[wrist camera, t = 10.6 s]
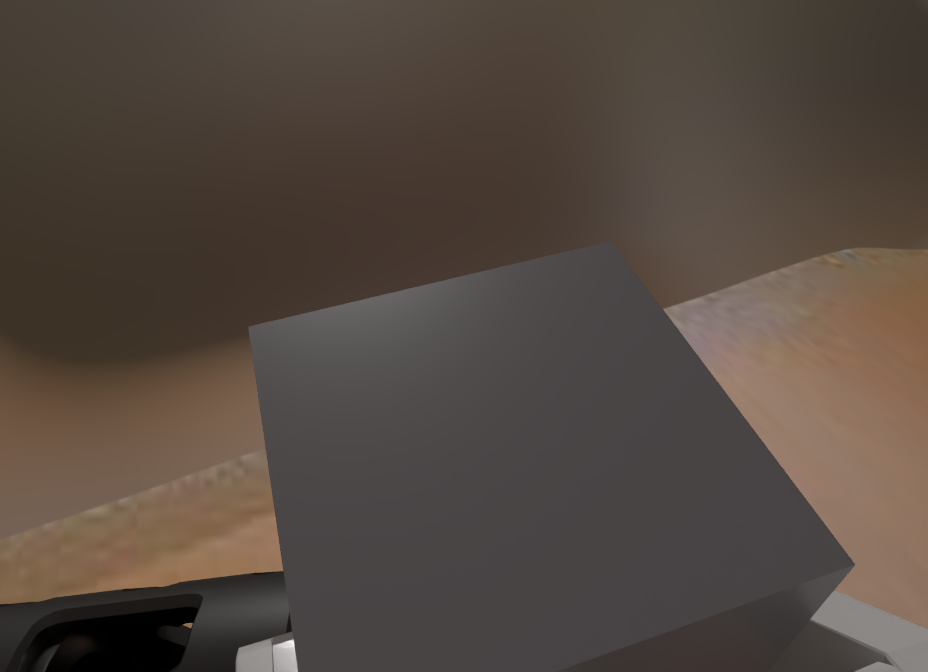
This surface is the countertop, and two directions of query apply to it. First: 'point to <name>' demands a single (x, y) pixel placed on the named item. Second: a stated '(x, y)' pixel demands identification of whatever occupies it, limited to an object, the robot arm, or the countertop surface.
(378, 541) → the charger
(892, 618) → the robot arm
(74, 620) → the muzzle brake
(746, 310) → the countertop surface
